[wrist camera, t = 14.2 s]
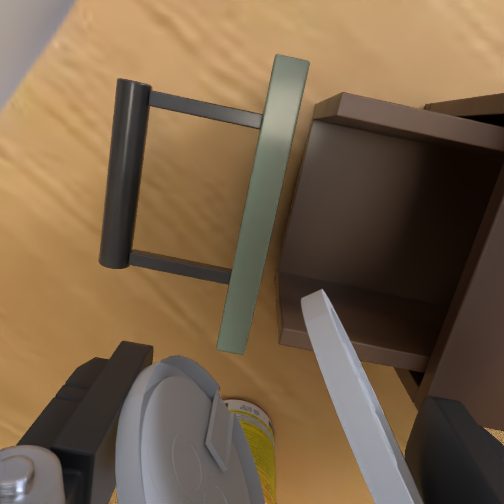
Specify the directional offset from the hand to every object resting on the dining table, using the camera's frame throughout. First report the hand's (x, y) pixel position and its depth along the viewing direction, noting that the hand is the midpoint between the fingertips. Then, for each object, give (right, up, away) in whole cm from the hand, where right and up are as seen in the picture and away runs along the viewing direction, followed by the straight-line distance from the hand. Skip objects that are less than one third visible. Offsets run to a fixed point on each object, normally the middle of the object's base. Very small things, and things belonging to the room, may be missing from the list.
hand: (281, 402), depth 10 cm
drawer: (+3, +7, +13) cm, 15 cm away
